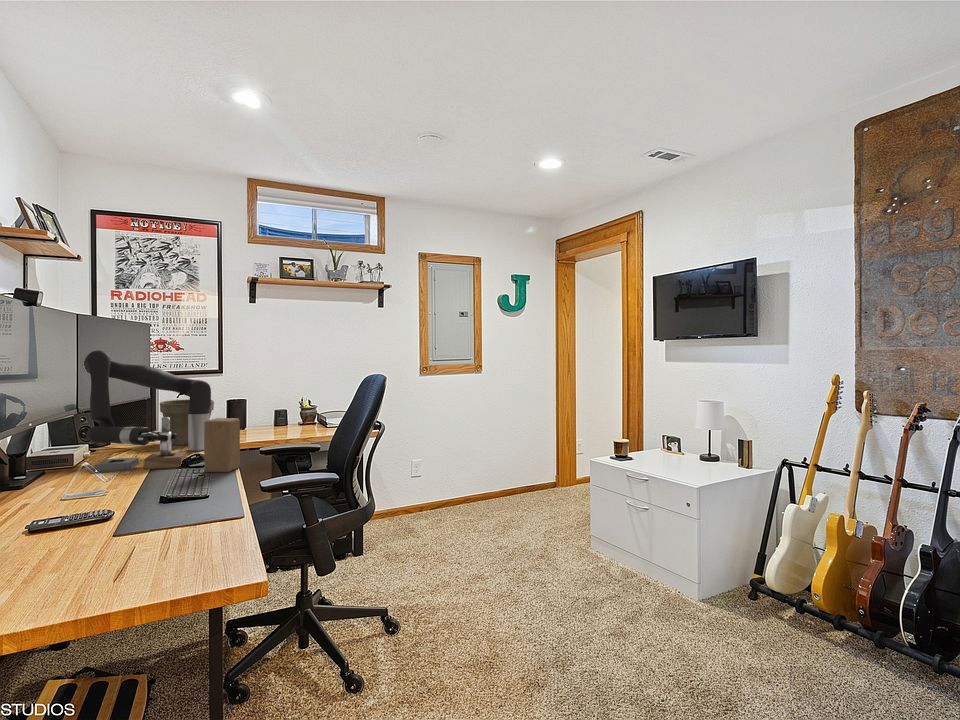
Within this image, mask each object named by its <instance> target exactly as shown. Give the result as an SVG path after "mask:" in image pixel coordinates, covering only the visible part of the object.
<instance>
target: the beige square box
mask: <svg viewBox="0 0 960 720" xmlns="http://www.w3.org/2000/svg"><path fill="white" fill-rule="evenodd" d="M187 452H188V451H177V452H176V451H175V452H171V456H166V457H160V452H157V453H155V452H154V453H151V454H149V455H148V456H146V457H145V458H144V459H143V469H144V470H154V469H170V468H171V469H172V468H180V467H179V466H181V464H182V461H183V460H184V459H186V458H187V459H188V455H187V454H188V453H187Z"/></svg>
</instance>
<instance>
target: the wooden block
mask: <svg viewBox="0 0 960 720" xmlns="http://www.w3.org/2000/svg"><path fill="white" fill-rule="evenodd" d="M240 423H241V421H240V418H237V417H236V418H235V417H231V418H230V417H229V418H228V417H224V418H223V417H219V418H218V417H216V418H212V419H210V420H207V421H205V422H204V450H203V459H204V460H203V462H204V463H203V465H204V466H203V468H204V469H203V470H204V473H230V472H232V471H234V470H237V469H239V468H240V467H241V447H240V446H241V437H240V436H241V429H240V428H241V424H240Z"/></svg>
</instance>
